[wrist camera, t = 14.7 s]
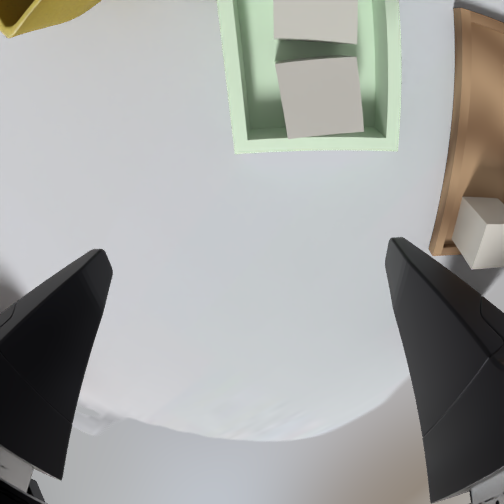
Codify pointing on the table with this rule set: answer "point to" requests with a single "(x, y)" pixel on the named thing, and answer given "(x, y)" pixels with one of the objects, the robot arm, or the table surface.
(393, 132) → the green bin
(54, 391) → the robot arm
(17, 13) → the flower pot
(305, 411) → the table surface
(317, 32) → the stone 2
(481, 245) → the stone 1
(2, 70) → the table surface
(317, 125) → the white small cube
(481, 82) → the walnut tray
